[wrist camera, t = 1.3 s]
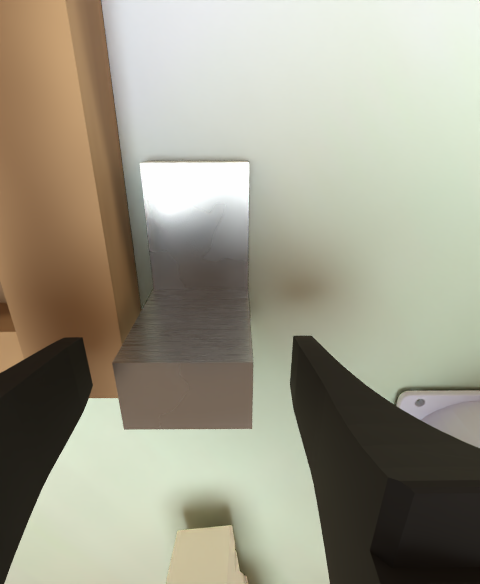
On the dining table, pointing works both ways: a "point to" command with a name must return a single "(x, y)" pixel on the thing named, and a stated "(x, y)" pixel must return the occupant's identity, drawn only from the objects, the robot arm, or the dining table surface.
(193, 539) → the shelf bracket
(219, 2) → the dining table surface
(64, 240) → the oak well block
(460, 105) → the dining table surface
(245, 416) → the steel bracket
